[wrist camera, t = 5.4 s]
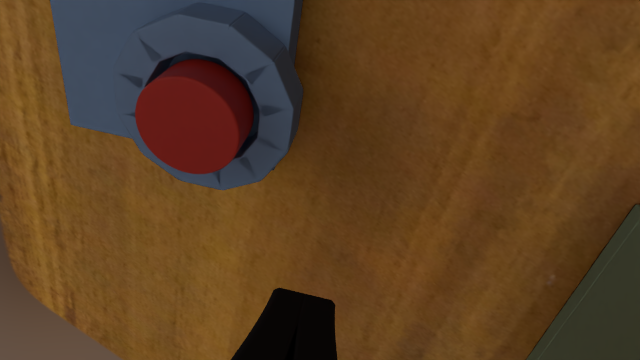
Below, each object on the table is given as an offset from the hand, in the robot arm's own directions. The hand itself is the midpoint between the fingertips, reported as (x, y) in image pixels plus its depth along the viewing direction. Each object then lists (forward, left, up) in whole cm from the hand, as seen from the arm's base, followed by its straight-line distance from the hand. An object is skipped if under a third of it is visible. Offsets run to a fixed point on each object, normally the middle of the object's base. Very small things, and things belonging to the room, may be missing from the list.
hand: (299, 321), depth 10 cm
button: (+1, +5, -7) cm, 9 cm away
